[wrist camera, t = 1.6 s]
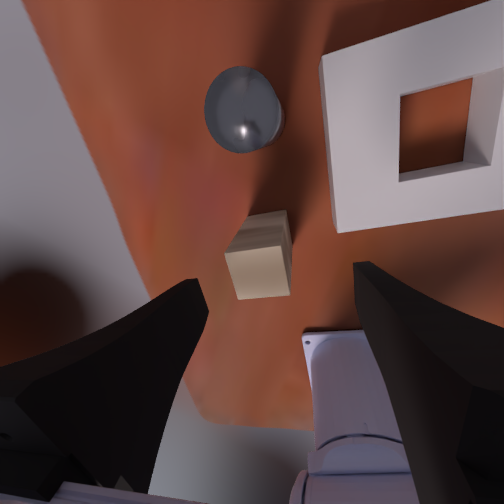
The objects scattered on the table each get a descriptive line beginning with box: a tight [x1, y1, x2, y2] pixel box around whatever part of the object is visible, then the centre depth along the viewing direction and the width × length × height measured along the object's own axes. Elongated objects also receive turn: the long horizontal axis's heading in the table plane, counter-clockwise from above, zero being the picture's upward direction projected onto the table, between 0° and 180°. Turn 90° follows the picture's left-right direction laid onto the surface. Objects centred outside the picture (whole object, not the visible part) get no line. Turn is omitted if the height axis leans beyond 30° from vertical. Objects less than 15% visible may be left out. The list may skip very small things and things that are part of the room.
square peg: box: [224, 210, 292, 300], centre depth 17 cm, size 3×3×7 cm
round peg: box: [204, 66, 285, 153], centre depth 13 cm, size 3×3×7 cm
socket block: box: [318, 0, 504, 233], centre depth 14 cm, size 10×12×2 cm
